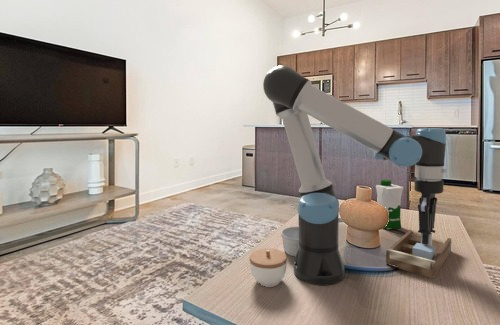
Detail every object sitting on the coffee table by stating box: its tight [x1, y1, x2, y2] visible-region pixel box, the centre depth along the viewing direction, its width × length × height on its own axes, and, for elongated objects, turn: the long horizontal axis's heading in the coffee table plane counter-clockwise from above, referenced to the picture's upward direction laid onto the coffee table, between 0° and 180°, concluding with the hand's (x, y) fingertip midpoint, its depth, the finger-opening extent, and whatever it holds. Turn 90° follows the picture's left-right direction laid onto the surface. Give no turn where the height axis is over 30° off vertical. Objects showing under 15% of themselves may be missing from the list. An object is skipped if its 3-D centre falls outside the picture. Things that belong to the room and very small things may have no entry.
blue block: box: [412, 243, 435, 260], centre depth 87 cm, size 5×5×4 cm
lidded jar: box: [249, 248, 288, 288], centre depth 82 cm, size 11×11×9 cm
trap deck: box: [385, 229, 452, 279], centre depth 93 cm, size 13×24×5 cm, turn 135°
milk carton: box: [375, 179, 404, 230], centre depth 122 cm, size 9×9×20 cm
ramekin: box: [280, 226, 299, 257], centre depth 102 cm, size 13×13×7 cm
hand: (425, 252), depth 89 cm, fingers closed
